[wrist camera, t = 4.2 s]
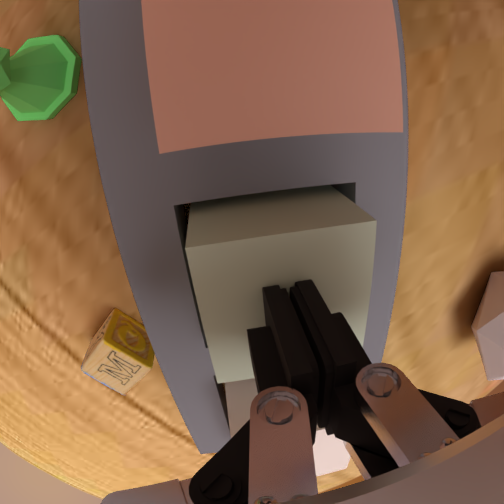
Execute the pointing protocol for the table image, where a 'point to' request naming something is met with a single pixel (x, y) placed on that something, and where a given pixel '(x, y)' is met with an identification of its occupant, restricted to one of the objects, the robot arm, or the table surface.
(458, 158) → the table surface
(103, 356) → the alphabet block
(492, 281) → the die
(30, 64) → the game piece
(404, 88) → the board
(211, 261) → the green block
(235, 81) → the terracotta block
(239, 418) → the cream block
